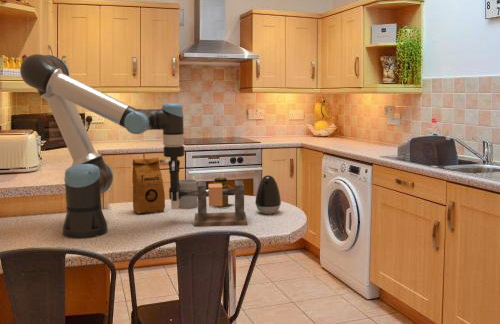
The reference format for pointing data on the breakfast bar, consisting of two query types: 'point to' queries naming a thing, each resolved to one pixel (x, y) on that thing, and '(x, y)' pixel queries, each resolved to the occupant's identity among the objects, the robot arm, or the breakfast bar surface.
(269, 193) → the black egg shaped speaker
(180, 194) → the shaft
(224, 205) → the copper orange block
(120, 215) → the breakfast bar surface
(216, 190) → the block
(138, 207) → the coffee package
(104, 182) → the robot arm
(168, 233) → the breakfast bar surface
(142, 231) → the breakfast bar surface
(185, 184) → the mug
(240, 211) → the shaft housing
